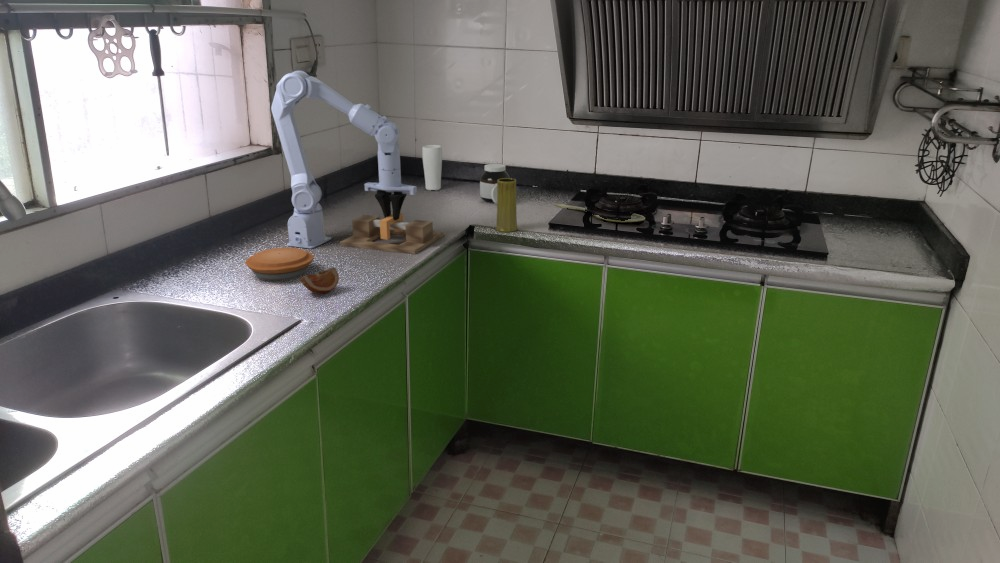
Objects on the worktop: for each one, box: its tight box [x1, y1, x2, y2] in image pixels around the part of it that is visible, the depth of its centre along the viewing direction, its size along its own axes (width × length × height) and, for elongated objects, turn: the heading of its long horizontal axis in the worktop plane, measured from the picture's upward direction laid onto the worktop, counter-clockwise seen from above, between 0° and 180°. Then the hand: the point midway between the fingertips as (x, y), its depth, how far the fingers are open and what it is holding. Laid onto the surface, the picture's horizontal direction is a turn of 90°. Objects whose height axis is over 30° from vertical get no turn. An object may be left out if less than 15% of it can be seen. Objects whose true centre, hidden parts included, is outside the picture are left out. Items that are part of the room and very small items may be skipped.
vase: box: [495, 177, 518, 233], centre depth 208 cm, size 6×6×14 cm
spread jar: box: [479, 163, 510, 205], centre depth 239 cm, size 12×11×12 cm
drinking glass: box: [421, 144, 443, 191], centre depth 257 cm, size 7×7×15 cm
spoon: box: [555, 203, 646, 223], centre depth 225 cm, size 35×11×2 cm, turn 40°
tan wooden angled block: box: [380, 212, 404, 241], centre depth 198 cm, size 9×2×5 cm, turn 160°
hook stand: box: [339, 214, 445, 255], centre depth 199 cm, size 22×18×6 cm
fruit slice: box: [300, 267, 340, 295], centre depth 162 cm, size 8×7×5 cm
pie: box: [244, 247, 314, 282], centre depth 174 cm, size 15×16×5 cm
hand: (392, 218), depth 198 cm, fingers closed on tan wooden angled block, 2 cm apart
